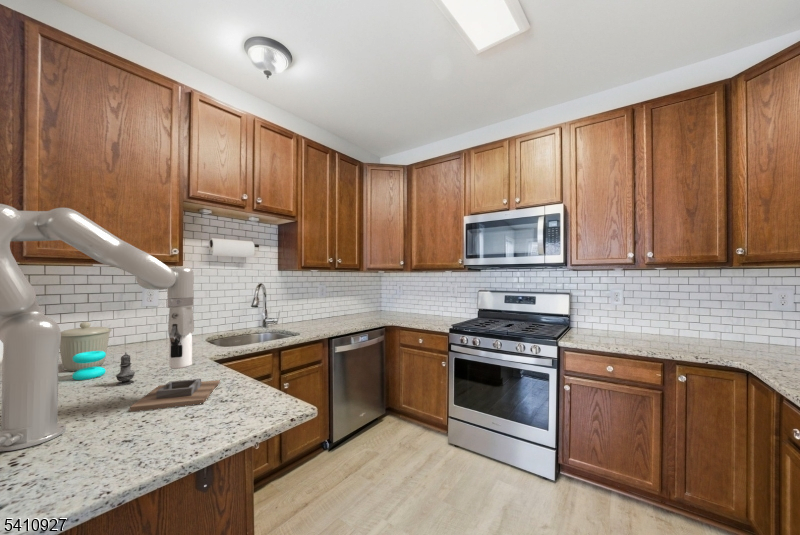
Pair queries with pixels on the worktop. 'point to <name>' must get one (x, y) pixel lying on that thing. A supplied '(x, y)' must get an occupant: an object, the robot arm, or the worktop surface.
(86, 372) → the donuts
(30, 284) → the robot arm
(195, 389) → the socket board
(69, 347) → the canister
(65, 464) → the worktop surface
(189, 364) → the can
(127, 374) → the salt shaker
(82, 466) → the worktop surface
